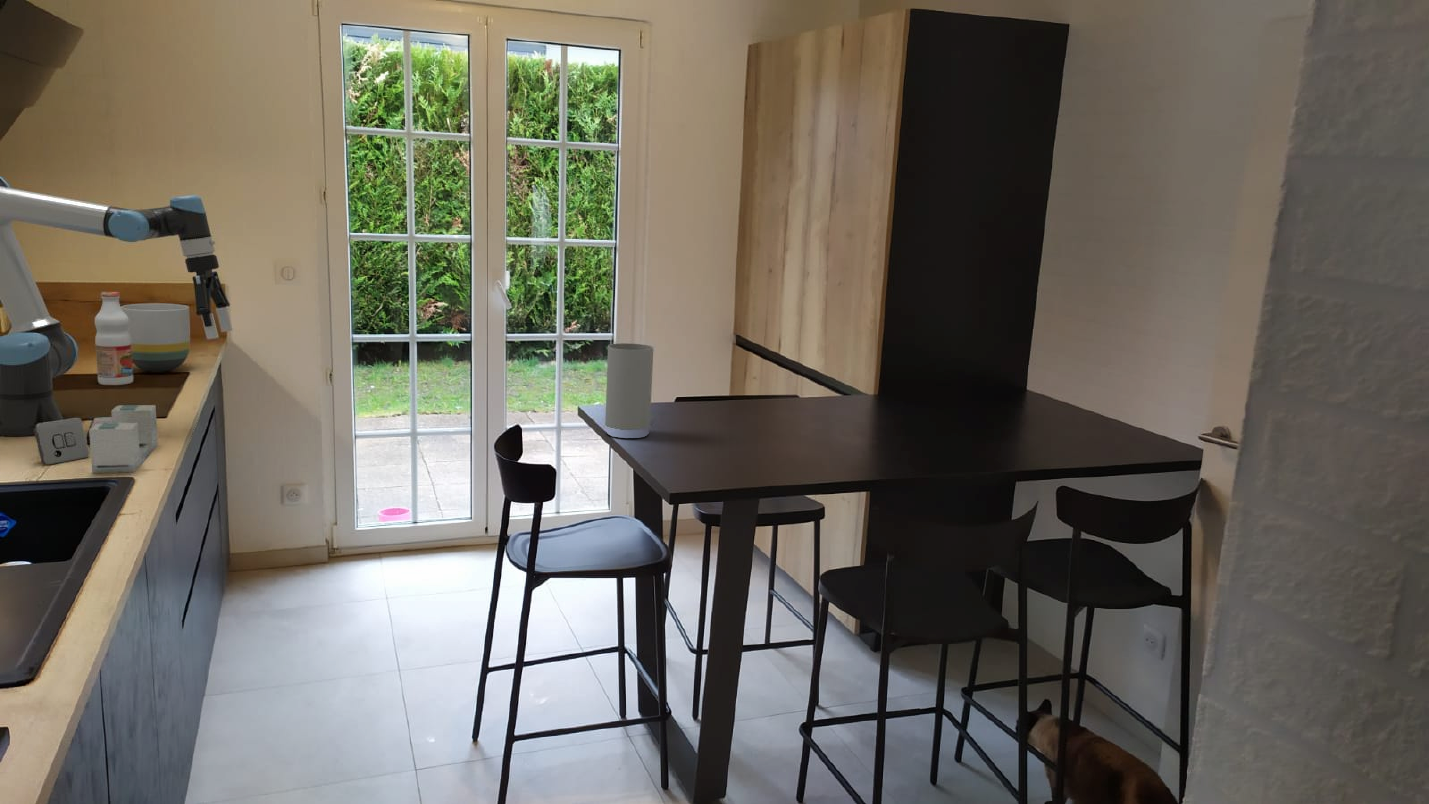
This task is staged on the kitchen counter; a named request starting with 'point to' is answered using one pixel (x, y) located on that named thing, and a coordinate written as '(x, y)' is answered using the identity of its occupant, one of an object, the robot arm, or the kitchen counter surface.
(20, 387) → the robot arm
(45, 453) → the electrical switch
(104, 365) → the fruit juice
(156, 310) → the planter
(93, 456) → the grey u-shaped block
